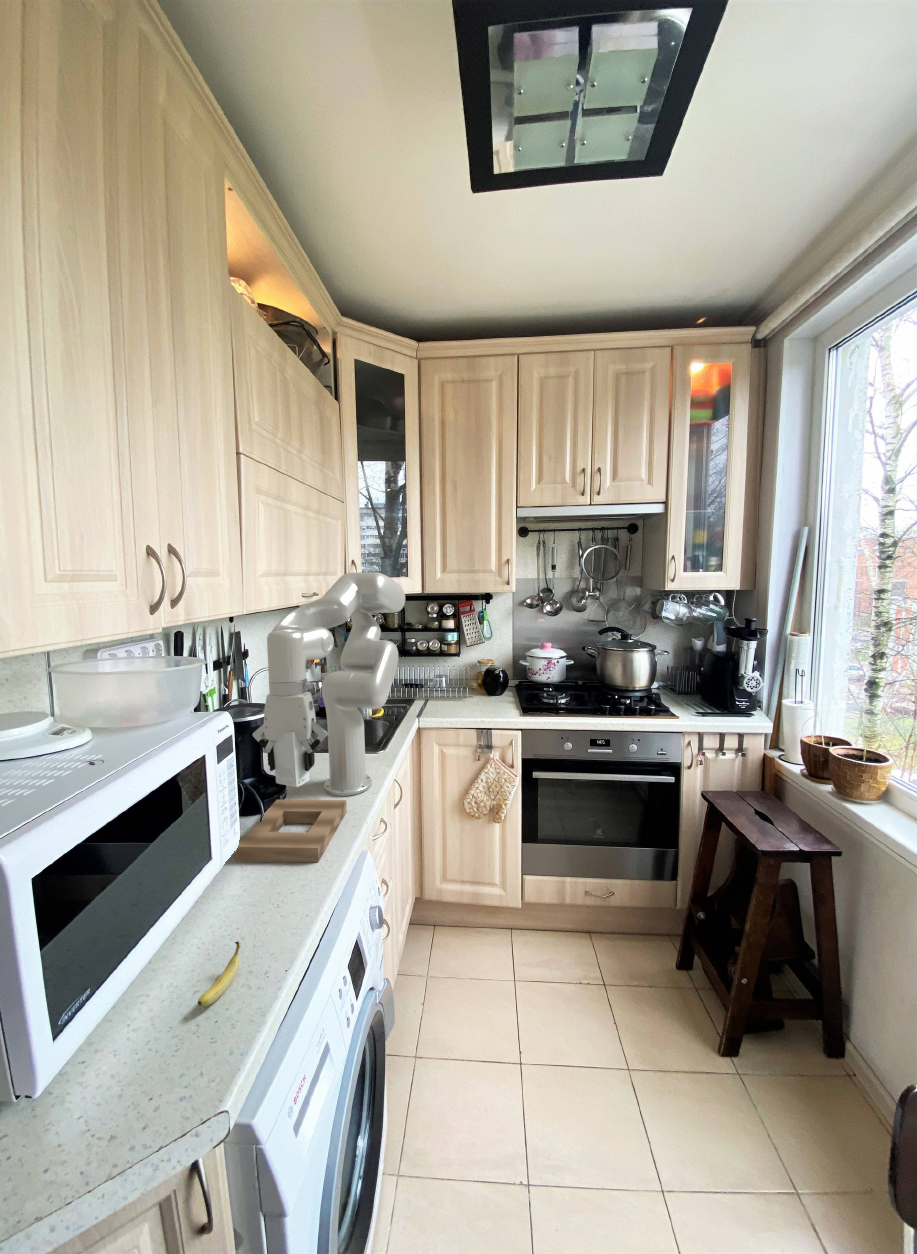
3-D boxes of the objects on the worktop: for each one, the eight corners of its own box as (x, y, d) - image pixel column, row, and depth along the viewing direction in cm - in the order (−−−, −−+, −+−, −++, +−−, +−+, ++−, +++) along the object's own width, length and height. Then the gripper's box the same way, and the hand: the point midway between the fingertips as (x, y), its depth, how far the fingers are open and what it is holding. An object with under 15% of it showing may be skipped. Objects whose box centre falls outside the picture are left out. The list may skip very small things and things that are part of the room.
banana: (235, 964, 69) (233, 939, 68) (246, 965, 69) (244, 940, 68) (195, 1015, 61) (193, 987, 60) (207, 1017, 61) (205, 989, 60)
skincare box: (310, 780, 103) (308, 726, 102) (295, 788, 99) (293, 732, 98) (288, 776, 105) (286, 723, 104) (273, 784, 101) (271, 729, 100)
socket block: (277, 811, 114) (276, 799, 114) (346, 811, 113) (346, 800, 113) (235, 860, 94) (234, 846, 94) (318, 861, 93) (318, 847, 93)
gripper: (333, 684, 103) (336, 762, 105) (256, 684, 104) (260, 761, 106) (322, 692, 96) (325, 776, 98) (239, 691, 97) (243, 775, 98)
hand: (291, 768), depth 102 cm, fingers closed on skincare box, 7 cm apart
